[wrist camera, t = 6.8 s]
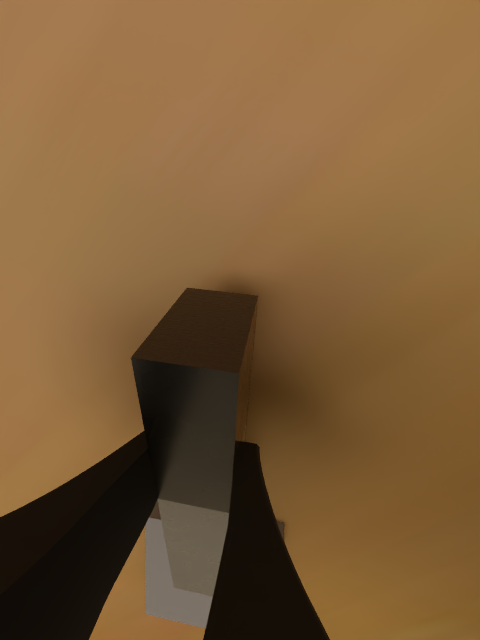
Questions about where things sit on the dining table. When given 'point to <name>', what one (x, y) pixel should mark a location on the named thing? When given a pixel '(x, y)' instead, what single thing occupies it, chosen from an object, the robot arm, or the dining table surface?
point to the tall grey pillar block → (196, 422)
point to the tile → (170, 581)
